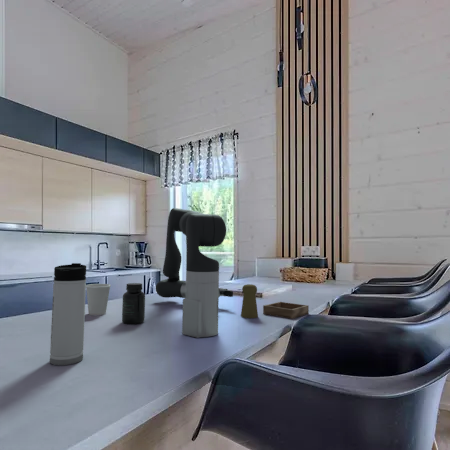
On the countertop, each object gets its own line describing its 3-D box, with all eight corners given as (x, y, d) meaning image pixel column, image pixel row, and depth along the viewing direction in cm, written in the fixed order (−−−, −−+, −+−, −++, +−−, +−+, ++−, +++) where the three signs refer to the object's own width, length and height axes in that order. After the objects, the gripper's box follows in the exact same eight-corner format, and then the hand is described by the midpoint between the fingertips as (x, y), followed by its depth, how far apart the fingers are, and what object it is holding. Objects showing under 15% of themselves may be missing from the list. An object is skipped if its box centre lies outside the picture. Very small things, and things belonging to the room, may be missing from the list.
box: (292, 318, 115) (292, 309, 115) (263, 313, 122) (263, 305, 123) (308, 313, 124) (308, 305, 124) (280, 309, 132) (280, 301, 132)
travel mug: (88, 355, 74) (91, 263, 75) (75, 365, 67) (80, 264, 69) (59, 355, 74) (63, 263, 75) (43, 365, 67) (48, 264, 68)
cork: (258, 315, 120) (258, 283, 121) (258, 318, 114) (258, 285, 115) (241, 314, 121) (241, 283, 122) (240, 317, 115) (240, 285, 116)
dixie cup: (79, 315, 115) (80, 285, 116) (94, 310, 123) (95, 283, 124) (100, 316, 113) (101, 286, 114) (114, 312, 121) (115, 284, 122)
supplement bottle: (133, 319, 111) (134, 282, 112) (149, 321, 107) (150, 283, 108) (117, 322, 105) (118, 283, 106) (132, 325, 102) (134, 285, 102)
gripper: (181, 282, 131) (212, 286, 120) (206, 280, 142) (237, 283, 131) (181, 302, 130) (212, 307, 120) (206, 298, 141) (237, 303, 131)
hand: (225, 295), depth 125 cm, fingers open, 8 cm apart
